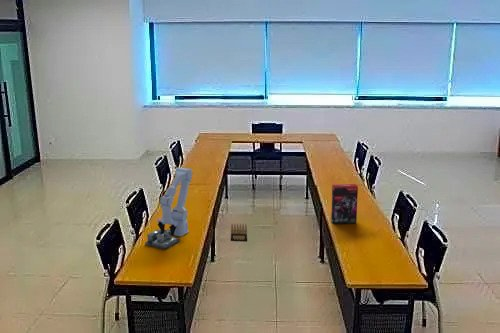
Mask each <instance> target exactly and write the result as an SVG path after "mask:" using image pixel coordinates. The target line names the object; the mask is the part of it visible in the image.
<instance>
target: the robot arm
mask: <svg viewBox="0 0 500 333" xmlns="http://www.w3.org/2000/svg"><path fill="white" fill-rule="evenodd" d="M193 174H194V173H193V172H192V169H191V168H183V167H179V166H178V167H176V169H175V172H174V179H173V181H172V184H171V186H168V188H166V191H165V193H164V195H163V196H161V197H160V199H159V204H160V208H161V213H162V214H161V216H162V218H157V219H156V220H157V226H158V228H159V230H161V233H163V234H164V230H166V229H165V226H166V225H170V226H169V230H170V231H171V237H174V236H176V237H183V236H184V235H186V234H188V233H189V232H190V231H189V229H188V228H189V225H188V224H189V223H188V220H187V218H188V210H187V209H186V208H185V207H186V201H187V196H188V191H189V187H190V182H192V177H193ZM179 185H180V188H179V193H178V197H177V203H176V206H174V207H173V208H172V205H173V203H174V200H175V199H174V197H175V195H176V194H177V192H178V190H177V188H178V186H179Z"/></svg>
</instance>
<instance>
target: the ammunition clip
mask: <svg viewBox="0 0 500 333" xmlns="http://www.w3.org/2000/svg"><path fill="white" fill-rule="evenodd" d="M230 242H244V243H247V242H248V227H247V223H245V225H244V223H242V224H241V223H237V224H236V223H234V224H233V223H231V226H230Z"/></svg>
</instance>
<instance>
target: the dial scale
mask: <svg viewBox="0 0 500 333" xmlns="http://www.w3.org/2000/svg"><path fill="white" fill-rule="evenodd" d="M159 233H161V230H160V228H159V229H158V228H157V229H156V230H153V231H151V232H150V233H148V234H147V235H146V236H147V240H146V241H145V242H144V244H145V246H149V247H152V248H157V249H159V250H163V251H166V250H168V249H170V248H171V247H173V246H175V245H177V244H179V243H180V242H181V239H179V238H177V237H174V236H171V239H164V243H157V234H159Z"/></svg>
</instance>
